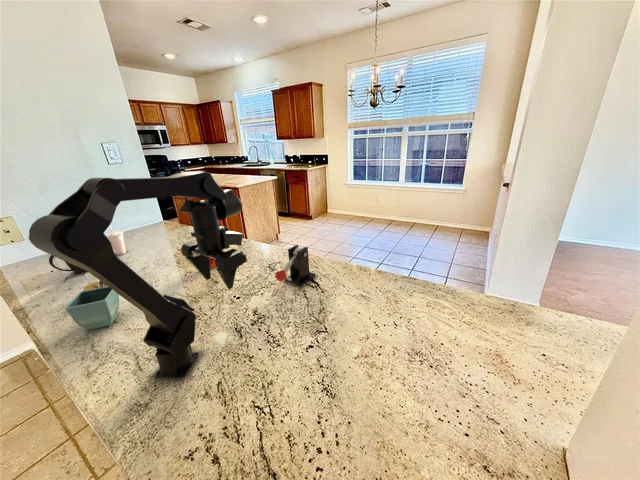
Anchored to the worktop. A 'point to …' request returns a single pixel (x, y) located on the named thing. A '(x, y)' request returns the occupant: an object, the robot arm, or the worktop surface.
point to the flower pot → (94, 308)
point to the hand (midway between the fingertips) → (219, 283)
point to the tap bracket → (299, 267)
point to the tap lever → (287, 267)
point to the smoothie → (117, 241)
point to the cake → (95, 284)
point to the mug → (72, 267)
